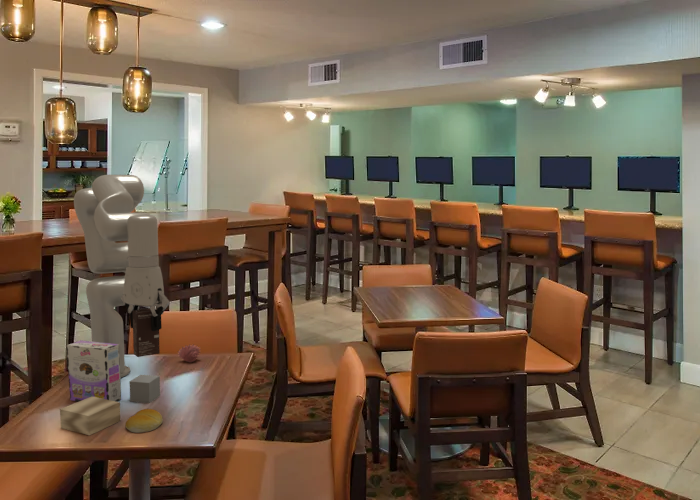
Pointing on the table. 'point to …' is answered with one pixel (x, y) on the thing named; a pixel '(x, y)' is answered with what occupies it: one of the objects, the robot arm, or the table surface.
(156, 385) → the grey cube
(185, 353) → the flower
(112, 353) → the candy box
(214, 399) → the table surface
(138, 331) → the box
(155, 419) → the bread roll
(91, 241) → the robot arm
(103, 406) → the base block
